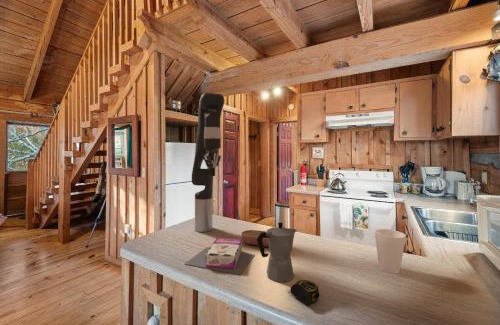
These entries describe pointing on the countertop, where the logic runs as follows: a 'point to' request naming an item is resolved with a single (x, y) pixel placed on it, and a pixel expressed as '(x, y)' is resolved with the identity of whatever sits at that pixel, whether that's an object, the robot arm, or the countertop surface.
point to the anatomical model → (253, 237)
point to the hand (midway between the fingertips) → (212, 176)
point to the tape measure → (305, 291)
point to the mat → (240, 266)
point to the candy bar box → (224, 253)
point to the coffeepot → (278, 252)
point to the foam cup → (390, 249)
